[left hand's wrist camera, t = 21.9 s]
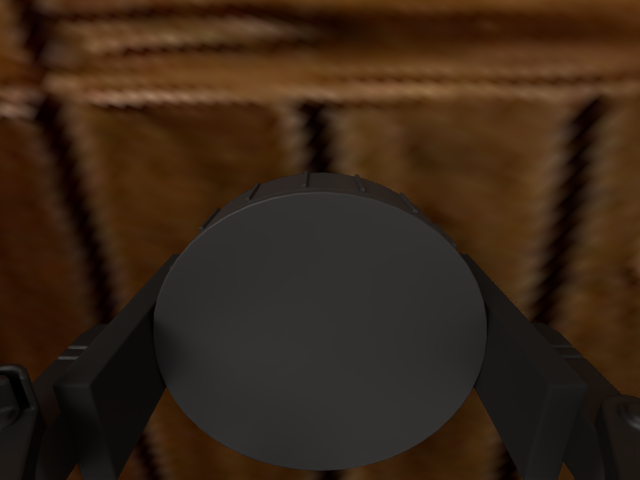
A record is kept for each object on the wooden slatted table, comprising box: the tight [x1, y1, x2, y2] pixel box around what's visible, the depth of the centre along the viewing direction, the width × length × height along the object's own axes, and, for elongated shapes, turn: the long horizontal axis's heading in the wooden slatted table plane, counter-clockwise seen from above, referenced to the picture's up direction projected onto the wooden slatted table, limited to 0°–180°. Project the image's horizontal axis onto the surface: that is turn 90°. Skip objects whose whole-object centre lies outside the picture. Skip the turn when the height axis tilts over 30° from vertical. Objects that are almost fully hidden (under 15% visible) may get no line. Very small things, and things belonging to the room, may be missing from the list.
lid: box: [153, 171, 487, 471], centre depth 11 cm, size 9×9×2 cm
